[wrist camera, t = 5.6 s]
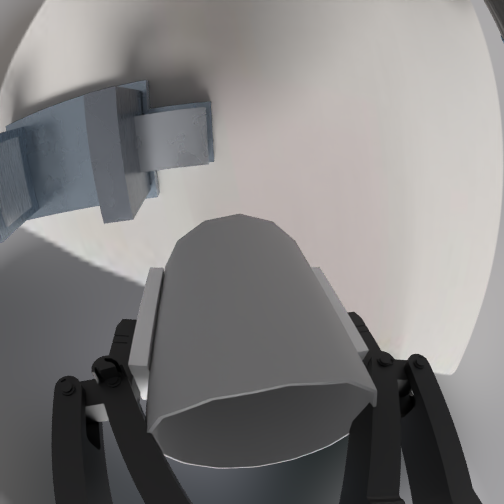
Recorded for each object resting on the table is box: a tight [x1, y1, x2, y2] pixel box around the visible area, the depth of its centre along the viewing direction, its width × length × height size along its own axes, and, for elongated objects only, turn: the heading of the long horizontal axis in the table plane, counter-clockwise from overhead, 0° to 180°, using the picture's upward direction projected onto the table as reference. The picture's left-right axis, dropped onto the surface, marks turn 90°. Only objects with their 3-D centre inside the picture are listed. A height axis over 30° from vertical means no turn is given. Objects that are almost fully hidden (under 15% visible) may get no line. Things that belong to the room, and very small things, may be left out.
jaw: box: [84, 86, 209, 223], centre depth 20 cm, size 10×9×8 cm
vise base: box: [0, 80, 214, 243], centre depth 20 cm, size 12×24×9 cm, turn 91°
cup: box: [145, 214, 377, 468], centre depth 12 cm, size 8×8×10 cm
